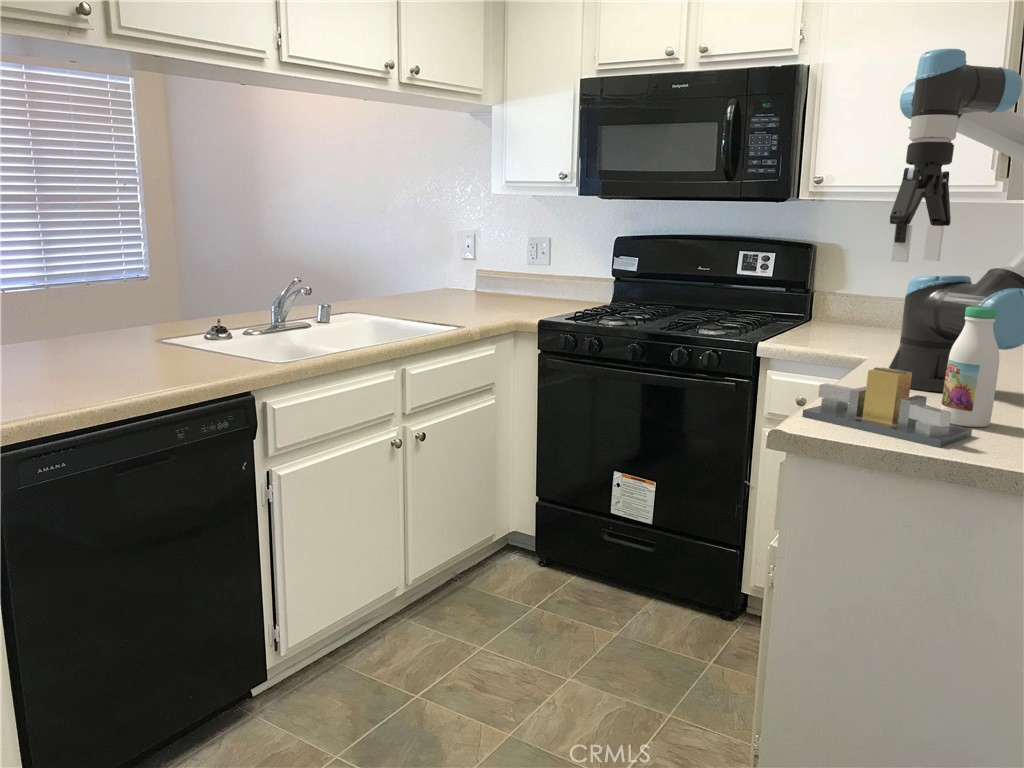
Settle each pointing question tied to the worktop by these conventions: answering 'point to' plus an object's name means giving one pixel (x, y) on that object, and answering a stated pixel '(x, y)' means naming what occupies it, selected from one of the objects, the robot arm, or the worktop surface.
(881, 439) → the worktop surface
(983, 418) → the milk bottle
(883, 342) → the worktop surface
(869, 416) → the yellow block
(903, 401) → the grey fixture board
